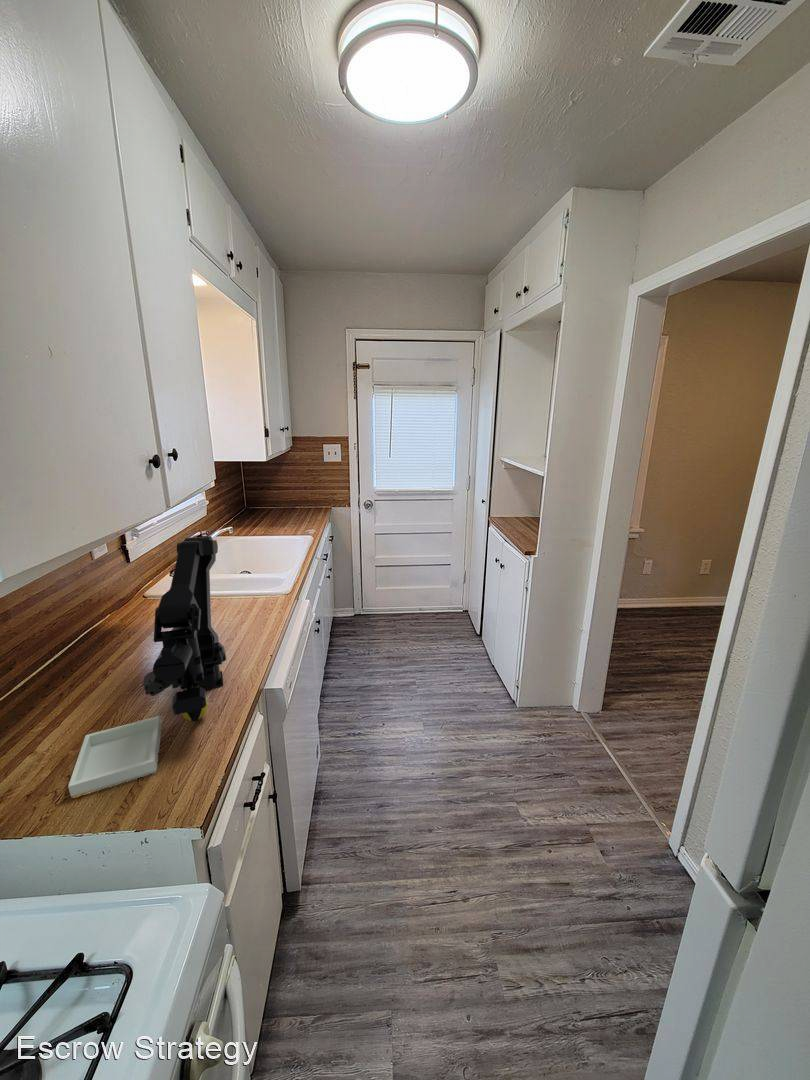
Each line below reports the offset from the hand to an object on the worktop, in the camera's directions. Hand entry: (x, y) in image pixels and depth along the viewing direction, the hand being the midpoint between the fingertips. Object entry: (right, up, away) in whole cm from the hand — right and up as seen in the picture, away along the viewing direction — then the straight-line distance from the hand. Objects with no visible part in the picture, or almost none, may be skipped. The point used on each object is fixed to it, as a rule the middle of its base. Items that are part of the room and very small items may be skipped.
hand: (195, 712), depth 96 cm
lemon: (0, -2, +1) cm, 2 cm away
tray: (-10, -5, -10) cm, 15 cm away
